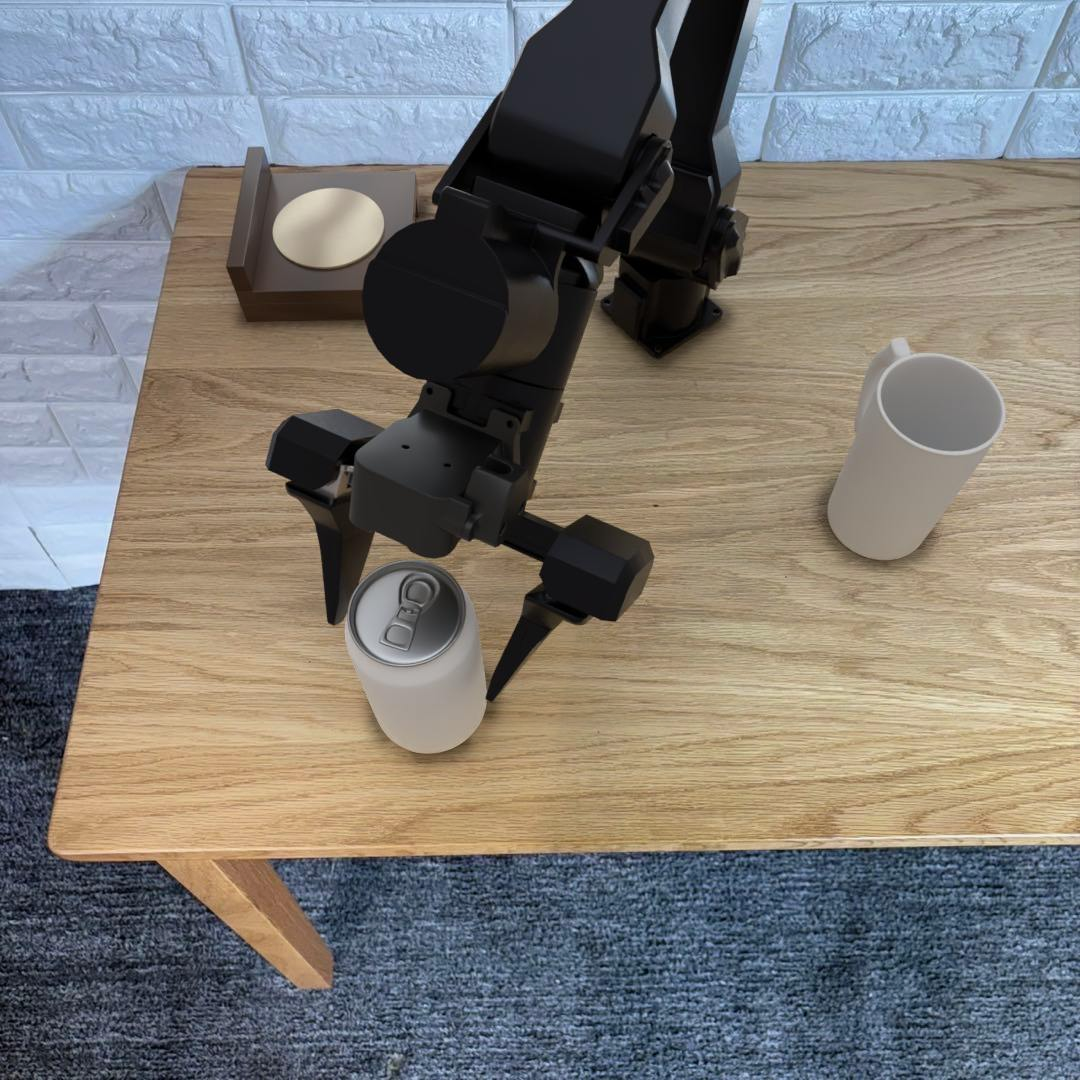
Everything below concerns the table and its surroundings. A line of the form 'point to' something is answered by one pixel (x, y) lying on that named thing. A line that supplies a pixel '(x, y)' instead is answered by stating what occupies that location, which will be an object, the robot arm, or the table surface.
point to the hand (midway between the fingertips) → (411, 660)
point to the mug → (911, 448)
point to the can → (418, 655)
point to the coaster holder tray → (312, 238)
